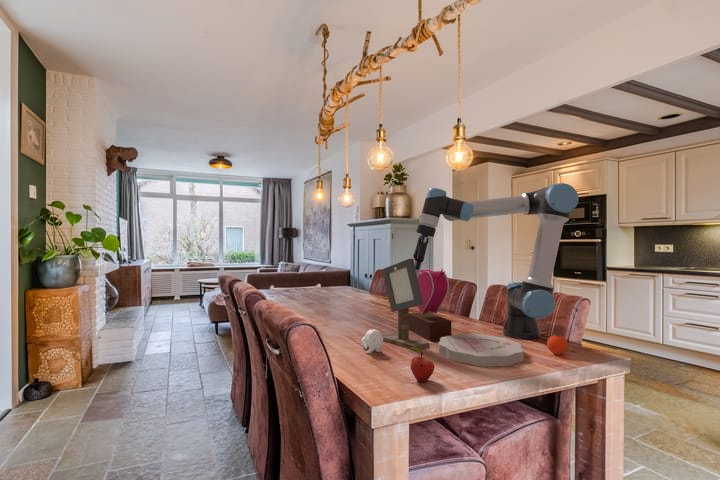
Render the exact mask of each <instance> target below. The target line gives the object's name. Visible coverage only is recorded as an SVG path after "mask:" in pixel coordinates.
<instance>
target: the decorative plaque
mask: <svg viewBox="0 0 720 480" xmlns="http://www.w3.org/2000/svg"><path fill="white" fill-rule="evenodd" d="M437 345H438V347H437V349H438V350H437V351H438V353H439V354H440V355H442V356H444V357H447V358H448V359H449V360H450V361H452V362H459V363H465V364H469V365H473V366H477V367H489V366H492V367H495V366H496V367H508V366H511V365H513V364H516V363H521V362H523V361H524V349H523V348H522V344H521V343H519V342H516V341H512V340H510V339H508V338H507V337H502V336H494V335H488V334H485V333H483V334H482V333H455V334H451V336H446V337H441V338H440V340H439V342H438V343H437Z"/></svg>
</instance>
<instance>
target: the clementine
mask: <svg viewBox="0 0 720 480" xmlns="http://www.w3.org/2000/svg"><path fill="white" fill-rule="evenodd" d="M546 344H547V349H548V350H549V351H550V352H551V353H552V354H555V355H557V356H560V355H564V354H566V353H567V352H568V350H569V343H568V340H567V339H566V338H565V337H564V336H562V335H559V334H550V335H549V337H548V339H547V343H546Z"/></svg>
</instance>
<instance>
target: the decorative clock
mask: <svg viewBox="0 0 720 480" xmlns="http://www.w3.org/2000/svg"><path fill="white" fill-rule="evenodd" d="M418 283H419V287H420V291H421V295H422V299H423V303H424V304H423V305H419V306H417V308H418V310H419V312H410V313H409V332H410V331H411V332H413V333H414V334H416V335H418V336H419V337H422V338H424V339H425V340H427V341H428V342H435V341H440V338H441V337H446V336H451V335H452V322H453V321H452V320H449V319H447V318H445V317H442V316H439V315H437V313H438V312H439V310H440V308H441V307H442V305H443V303H444V301H446V299H447V296H448V294H449V290H450V284H449V283H450V282H449V278H448V276H447V273H446V271H444V268H442V269H441V270H438V271H436V270H435V271H434V269H432V268H431V269H430V268H429V269H420V272H419V276H418Z"/></svg>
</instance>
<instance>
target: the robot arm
mask: <svg viewBox="0 0 720 480" xmlns="http://www.w3.org/2000/svg"><path fill="white" fill-rule="evenodd" d="M425 196H426V197H425V199H424V203H423V207H422V210H421V214H420V215H419V216H418V218H419V221H418V222H419V224H418V225H417V227H416V232H415V233H417V234H420V235H419V237H418V239H417V243H416V247H415V249H414V252H413V256H412V259H413V262H414V266H415V270H416V274H417V278H418V276H419V272H420V270H422V269H421V268H422V265H423V262H424V261H425V260H424V259H425V255H426V253H427V252H426V251H427V247H428V244H429V241H430V240H429V239H430V238H434V237H435V235H436V230H437V229H436V228H437V227H438V226H439V225H438V224H439V221H440V217H441V215H442V217H443V218H444V219H445V220H447V221H449V222H453V221H459V220H460V221H463V222H469V221H470V220H471V219H479V218H487V217H488V218H489V217H497V216H498V217H499V216H507V215H516V214H518V215H519V214H522V215H524V216H529V215H530V216H531V215H533V216H534V215H535V216H537V217H538V218H539V224H538V229H537V232H536V238H535V241H534V246H533V249H532V250H533V251H532V255H531V260H530V265H529V269H528V274H527V277H526V278H525V279H522V282H521V281H519V282H518V281H517V282H515V281H514V282H513V281H512V282H508V284H507V285H506V319H505V321H504V323H503V324H504V325H503V327H502V334H503V335H504V336H507V337H509V338H514V339H521V340H523V339H524V340H535V339H540V338H541V335H542V333H541V329H540V326H539V323H538V320H542V319H545V318H547V317H549V316H550V315H551V314H553V312H554V310H555V308H556V300H555V298H554V296H553V294H554V290H555V289H554V286H553V284H552V283H551V282H552V278H553V272H554V268H555V263H556V259H557V255H558V251H559V246H560V242H561V238H562V233H563V229H564V228H563V227H564V224H565V223H567V222H568V221H569V220H570V216H571V212H572V211H574V209H575V208H576V207H577V205H578V204H579V199H580V198H579V194H578V191H577V190H576V189H575V188H574V187H573V186H572V185H571V184H568V183H564V182H559V183H554V184H551V185H549V186H546V187H542V188H540V189H537V190H533V191H530V192H523V193H521V195H518V196H517V195H516V196H507V197H499V198H498V197H497V198H489V199H482V200H481V199H479V200H471V201H464V200H459V199H456V198H452V197H449V196H447V191H446V190H444V189H441V188H437V187H430V188H428V191H427V193H426V195H425ZM429 237H430V238H429Z"/></svg>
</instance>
